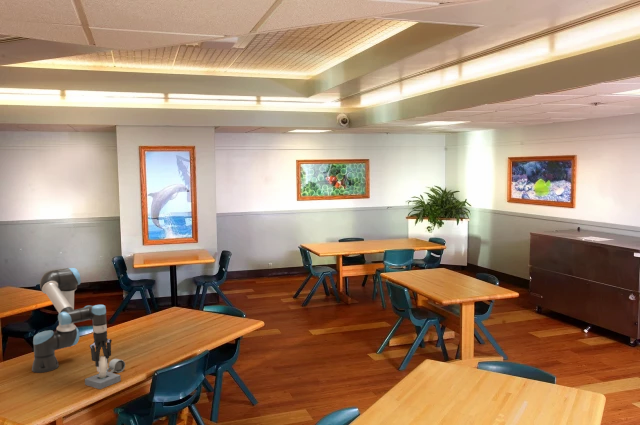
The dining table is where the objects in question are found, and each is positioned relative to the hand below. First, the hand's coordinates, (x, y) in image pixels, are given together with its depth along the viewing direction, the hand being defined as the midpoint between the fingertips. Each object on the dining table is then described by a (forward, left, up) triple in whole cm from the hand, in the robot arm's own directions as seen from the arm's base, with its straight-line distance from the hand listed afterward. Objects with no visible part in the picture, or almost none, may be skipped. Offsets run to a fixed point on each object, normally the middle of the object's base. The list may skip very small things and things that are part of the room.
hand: (102, 370), depth 310 cm
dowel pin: (0, 0, -4) cm, 4 cm away
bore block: (0, 0, -8) cm, 8 cm away
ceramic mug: (-9, +15, -8) cm, 19 cm away
